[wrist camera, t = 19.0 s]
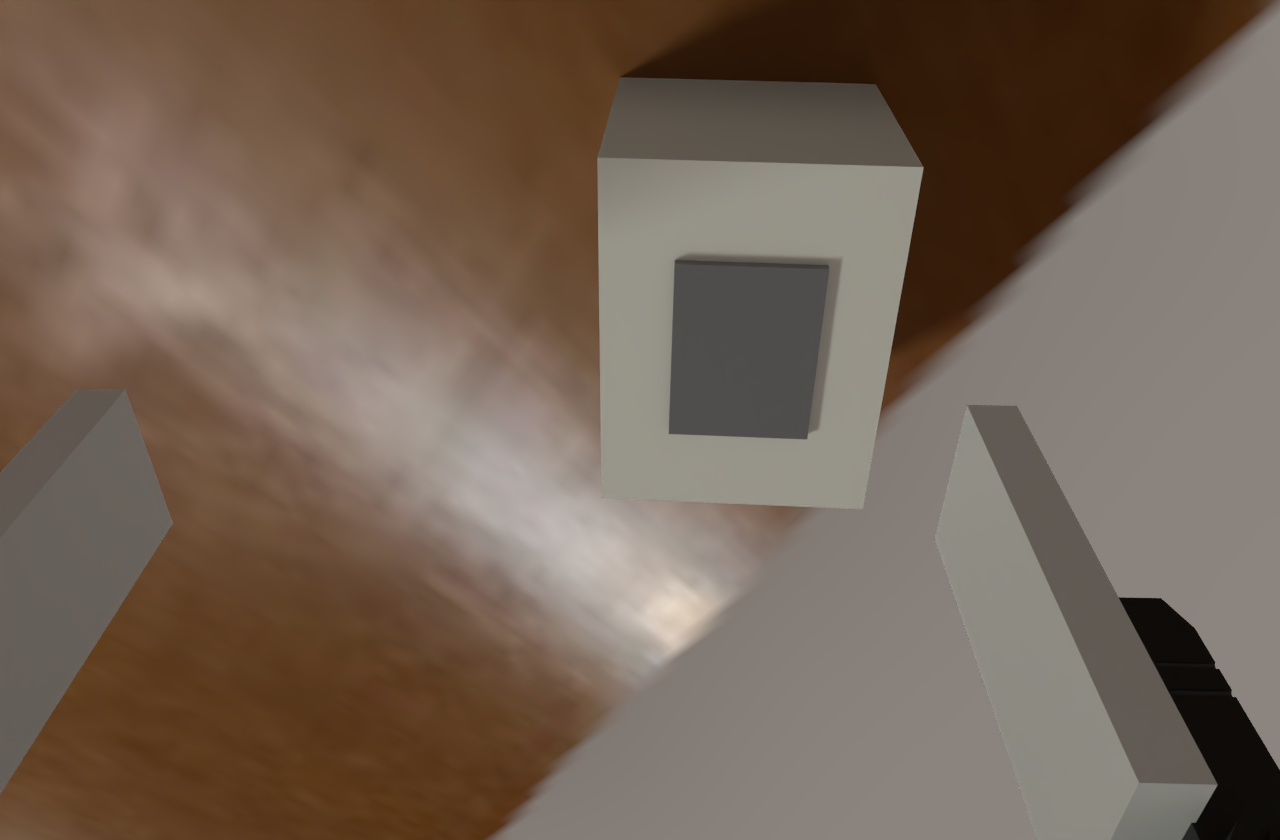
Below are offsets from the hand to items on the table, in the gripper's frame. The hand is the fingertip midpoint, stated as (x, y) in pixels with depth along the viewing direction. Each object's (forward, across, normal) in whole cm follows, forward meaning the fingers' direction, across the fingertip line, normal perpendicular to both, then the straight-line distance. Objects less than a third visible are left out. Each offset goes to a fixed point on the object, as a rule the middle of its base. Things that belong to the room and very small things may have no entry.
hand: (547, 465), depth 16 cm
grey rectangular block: (+11, +4, -1) cm, 12 cm away
